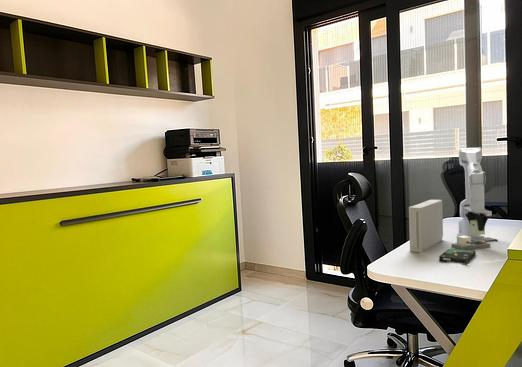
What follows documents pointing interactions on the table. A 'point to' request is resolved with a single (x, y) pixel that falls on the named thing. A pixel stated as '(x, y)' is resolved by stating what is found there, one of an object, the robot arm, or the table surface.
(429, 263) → the table surface
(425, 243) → the game console
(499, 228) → the table surface
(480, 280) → the table surface
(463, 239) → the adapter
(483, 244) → the grey double frame
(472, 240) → the phone
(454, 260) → the disk drive
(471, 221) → the block
